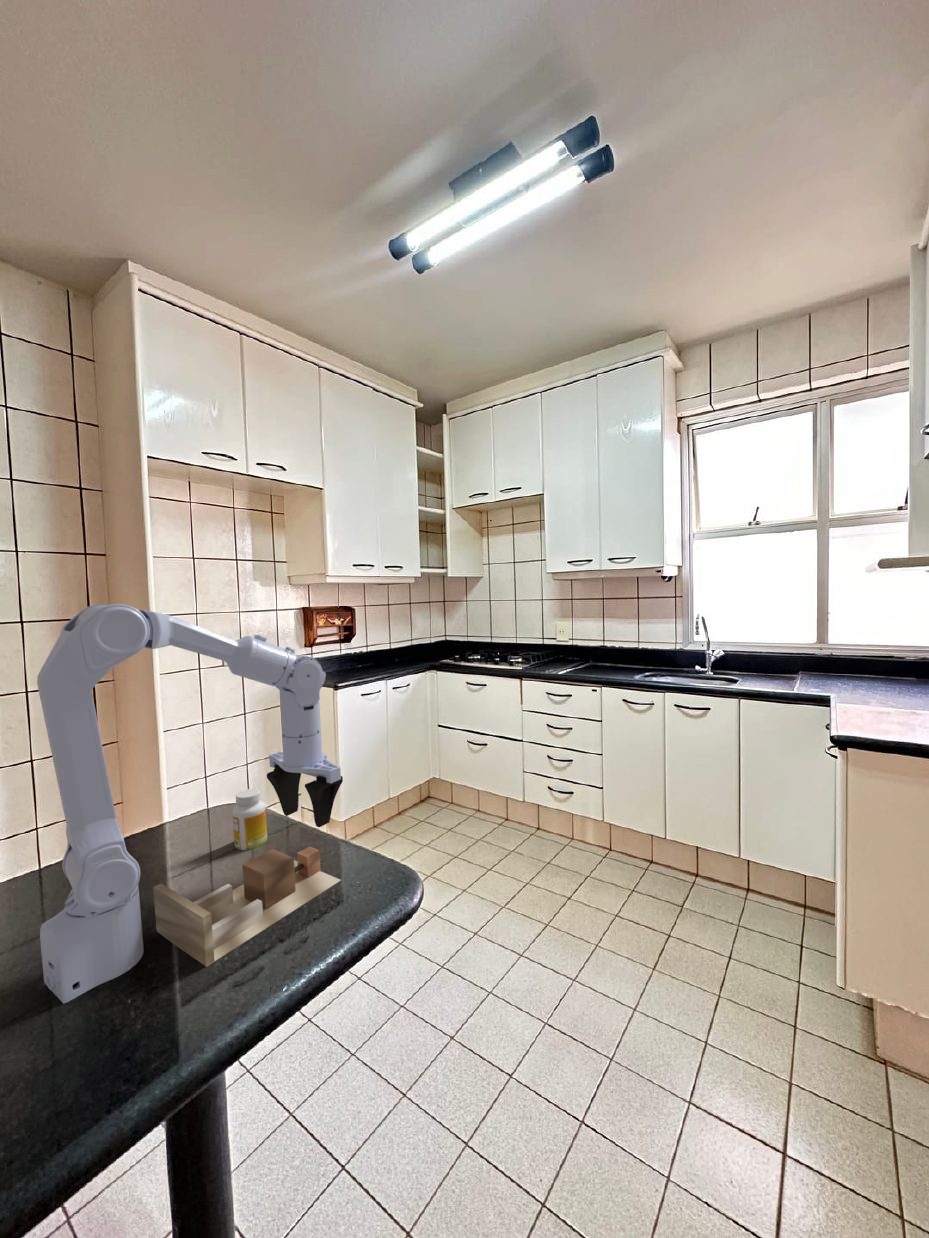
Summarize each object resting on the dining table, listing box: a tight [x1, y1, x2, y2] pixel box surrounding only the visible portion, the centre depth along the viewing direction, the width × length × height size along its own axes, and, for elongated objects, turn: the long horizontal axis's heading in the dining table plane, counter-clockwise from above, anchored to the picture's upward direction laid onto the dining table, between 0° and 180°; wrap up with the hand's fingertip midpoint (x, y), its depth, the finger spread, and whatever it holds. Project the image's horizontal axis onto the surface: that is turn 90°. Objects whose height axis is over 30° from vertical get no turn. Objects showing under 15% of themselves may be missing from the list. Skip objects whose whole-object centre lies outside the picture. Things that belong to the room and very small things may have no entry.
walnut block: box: [241, 846, 321, 909], centre depth 78 cm, size 11×5×5 cm, turn 146°
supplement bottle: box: [232, 788, 268, 851], centre depth 92 cm, size 5×5×10 cm
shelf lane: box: [152, 859, 342, 967], centre depth 74 cm, size 21×12×7 cm, turn 146°
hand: (306, 818), depth 81 cm, fingers open, 7 cm apart
